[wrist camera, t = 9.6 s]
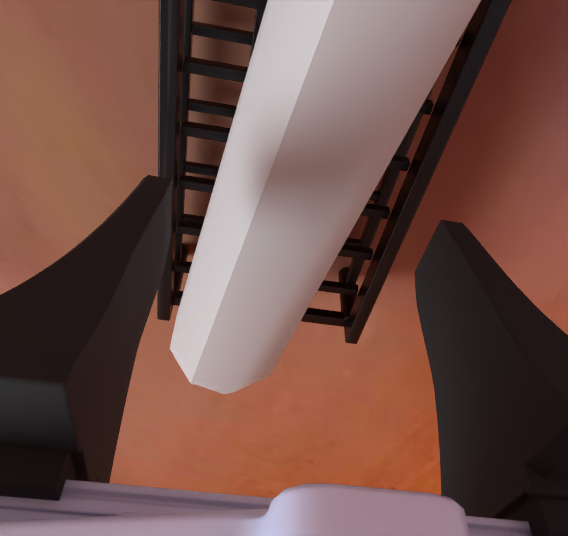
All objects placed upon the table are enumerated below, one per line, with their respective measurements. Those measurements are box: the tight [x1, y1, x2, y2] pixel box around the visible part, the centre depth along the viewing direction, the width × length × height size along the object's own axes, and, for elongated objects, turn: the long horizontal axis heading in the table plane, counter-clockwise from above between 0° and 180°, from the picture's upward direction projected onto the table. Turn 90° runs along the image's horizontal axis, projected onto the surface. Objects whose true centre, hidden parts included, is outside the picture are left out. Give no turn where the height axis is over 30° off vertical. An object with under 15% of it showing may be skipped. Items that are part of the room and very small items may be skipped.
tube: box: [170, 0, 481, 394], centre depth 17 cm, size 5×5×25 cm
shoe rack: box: [157, 0, 511, 344], centre depth 20 cm, size 10×22×4 cm, turn 170°
